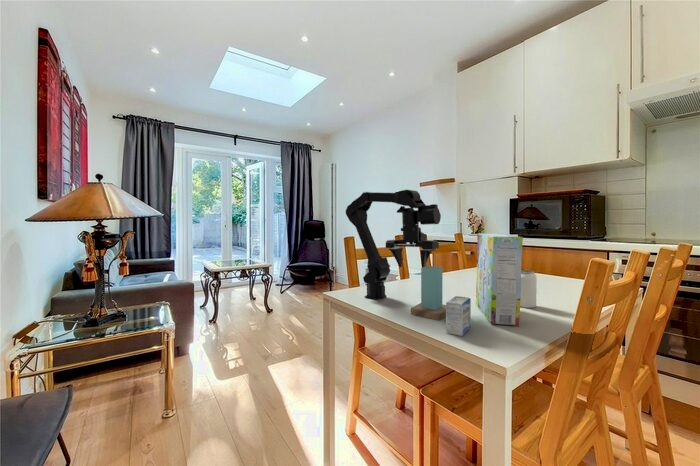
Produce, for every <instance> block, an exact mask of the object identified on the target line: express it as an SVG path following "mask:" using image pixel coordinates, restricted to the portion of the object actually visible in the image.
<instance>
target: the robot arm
mask: <svg viewBox="0 0 700 466" xmlns="http://www.w3.org/2000/svg"><path fill="white" fill-rule="evenodd" d="M373 203H393V204H396V205H400V207H399V208H398V209H397V210H396V213H397V214H398V213H399V214H400V213H401V214H402V215H401V217H402V218H401V219H402V227H401V228H400V232H402V239H387V240H386V241H385V248H386V249H388V251H390V252H391V254H392V256H394V259H395V261H396V263H397V265H398V267H399V268H403V257H402V256H403V250H404V248H403V247H405V248H406V247H408V248H421V250H420V261H421V262H420V263H421V268H423V267H426V265H427V262H428V260H429V257H430V256H431V253H432V252H436V251H435V250H436V249H440V244H439V241H438V240H435V239H427V236H428V235H427V234H426V233H424V232H422V229H421V227H420V226H419V224H420V225H422V226H423V225H439V224H440V222H441V216H442V215H441V212H440V208H438V207H439V205H438V204H437V203H435V204H433V203H432V204H427V205H426V204H425V202H424V201H423V200H422V198H421V195H420V193H419V192H418V191H417V190H414V189H413V190H412V189H401V190H397V191H394V192H381V191H380V192H379V191H378V192H372V191H363V192H362V193H361V195H359V197H357V198H355V199H354V200H353V201H352V202H351V203H350V204H348V205H347V206H346V209H345V215H346V217H347V218H348V220H349V222H350V223H351V224H352V225H353V226H354V227H355V229H356V232H357V234H358V237H359V240H360V242H361V244H362V246H363V249H364V252H365V254H366V257H367V265H366V266H367V273H366V274H365V275H364V276H363V277H362V279H363V281H364V284H366V295H364V298H366V299H373V300H376V301H377V300H381V299H382V298H383V299H384V298H386V297H387V294H386V286H385V281H387V278H388V276H389V275H390V272H391V268H390V267H391V265H390V263H389V261H388V258H387V257H382V255H380V251H379V250H378V248H377V245H376V243H375V240H374V238H373V234H372V233H371V230H370V227H369V225H368V211H369V210H370V208H371V206H372V204H373ZM416 209H417V210H416Z"/></svg>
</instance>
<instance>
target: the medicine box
mask: <svg viewBox="0 0 700 466" xmlns="http://www.w3.org/2000/svg"><path fill="white" fill-rule="evenodd" d="M471 302H472V301H471V298H470V297H466V296H458V295H456V296H454V297H452V298H450V300H448V301H446V302H445V305H446V317H445V326H446V327H445V329H446V331H445V332H446V333H447V334H450V335H454V336H455V335H456V336H460V337H463V336H464V335H465V334H466V333H467V332H468V331H469V330H470V329H471V326H472V324H471V323H472V322H471V321H472V318H471V317H472V315H471V314H472V313H471V312H472V311H471V305H472V304H471Z"/></svg>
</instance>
